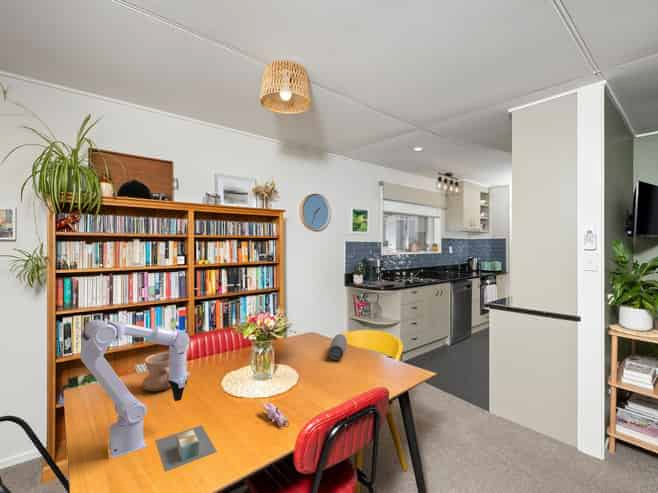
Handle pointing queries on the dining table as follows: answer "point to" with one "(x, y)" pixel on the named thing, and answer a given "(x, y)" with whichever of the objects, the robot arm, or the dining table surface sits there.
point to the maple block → (187, 445)
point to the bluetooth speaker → (338, 347)
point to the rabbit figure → (275, 414)
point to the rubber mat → (171, 454)
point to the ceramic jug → (157, 372)
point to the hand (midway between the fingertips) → (177, 400)
